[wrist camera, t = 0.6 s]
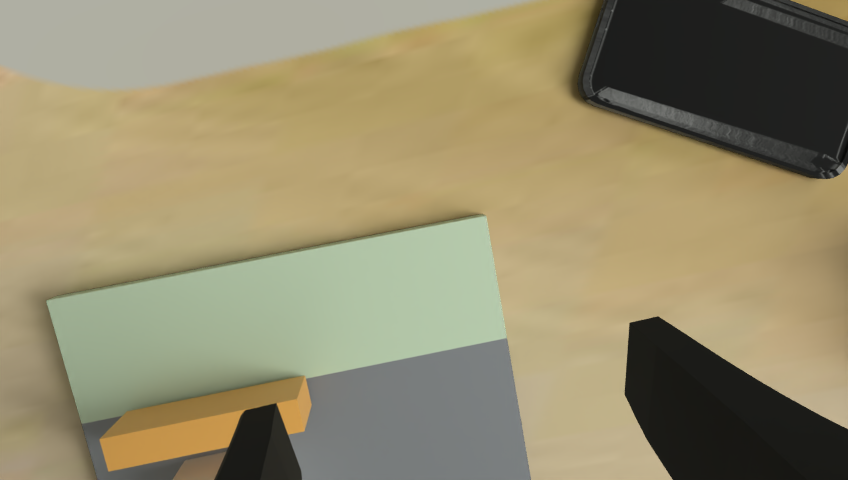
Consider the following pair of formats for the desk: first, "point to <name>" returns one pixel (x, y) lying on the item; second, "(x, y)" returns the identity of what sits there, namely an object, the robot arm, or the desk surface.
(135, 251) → the desk surface
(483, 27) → the desk surface
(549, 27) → the desk surface
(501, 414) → the green and grey board
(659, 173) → the desk surface
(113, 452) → the bar
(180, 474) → the plug block
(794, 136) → the phone
